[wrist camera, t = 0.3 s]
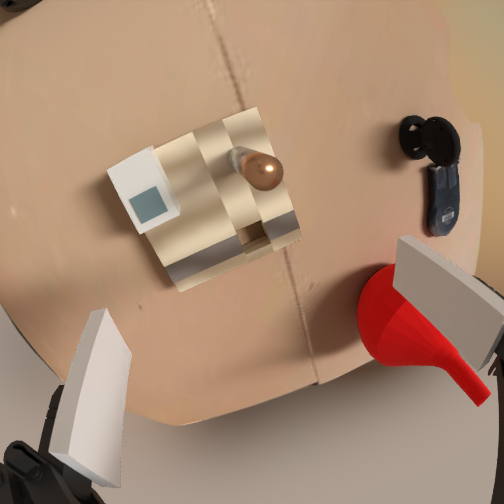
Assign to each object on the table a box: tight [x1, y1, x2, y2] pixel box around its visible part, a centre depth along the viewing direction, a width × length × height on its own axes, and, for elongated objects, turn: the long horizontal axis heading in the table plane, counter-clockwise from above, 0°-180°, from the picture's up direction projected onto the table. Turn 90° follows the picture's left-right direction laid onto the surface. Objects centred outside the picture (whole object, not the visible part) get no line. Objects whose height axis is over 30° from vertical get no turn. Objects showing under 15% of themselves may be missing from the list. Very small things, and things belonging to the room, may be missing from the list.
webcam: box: [400, 115, 461, 167], centre depth 33 cm, size 8×8×10 cm
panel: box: [145, 107, 303, 292], centre depth 34 cm, size 18×18×3 cm
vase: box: [357, 264, 491, 407], centre depth 35 cm, size 18×18×30 cm
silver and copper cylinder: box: [227, 146, 283, 191], centre depth 26 cm, size 3×3×12 cm
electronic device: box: [427, 158, 460, 237], centre depth 42 cm, size 9×6×15 cm
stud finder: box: [107, 146, 181, 234], centre depth 28 cm, size 8×5×4 cm, turn 21°
